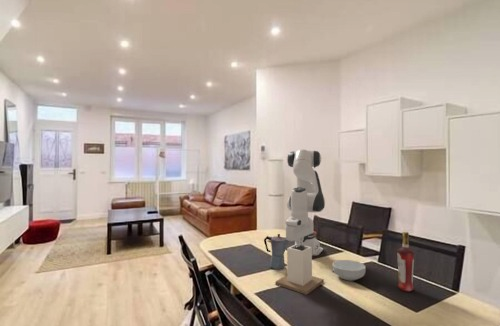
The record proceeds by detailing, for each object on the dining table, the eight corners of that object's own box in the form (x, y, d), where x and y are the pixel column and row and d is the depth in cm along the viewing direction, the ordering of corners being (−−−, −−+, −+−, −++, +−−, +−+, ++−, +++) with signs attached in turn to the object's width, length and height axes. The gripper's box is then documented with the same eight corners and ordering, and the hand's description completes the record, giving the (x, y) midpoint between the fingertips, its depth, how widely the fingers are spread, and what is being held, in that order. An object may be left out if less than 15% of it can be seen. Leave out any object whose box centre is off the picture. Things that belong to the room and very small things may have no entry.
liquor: (394, 286, 144) (394, 230, 144) (409, 286, 144) (409, 230, 143) (401, 293, 136) (401, 234, 136) (417, 293, 136) (417, 234, 136)
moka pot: (289, 271, 165) (288, 236, 164) (262, 269, 168) (262, 235, 167) (290, 265, 174) (289, 232, 174) (265, 263, 177) (264, 231, 177)
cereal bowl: (364, 273, 160) (364, 261, 160) (366, 286, 144) (366, 272, 144) (333, 270, 166) (333, 258, 166) (331, 281, 150) (331, 268, 150)
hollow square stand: (293, 273, 161) (293, 240, 161) (323, 282, 149) (323, 246, 149) (275, 284, 147) (275, 248, 147) (306, 294, 136) (306, 255, 135)
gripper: (303, 215, 158) (304, 240, 158) (283, 221, 142) (283, 249, 142) (314, 217, 154) (314, 242, 154) (294, 223, 138) (294, 252, 138)
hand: (299, 246), depth 148 cm, fingers closed, pressing on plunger
